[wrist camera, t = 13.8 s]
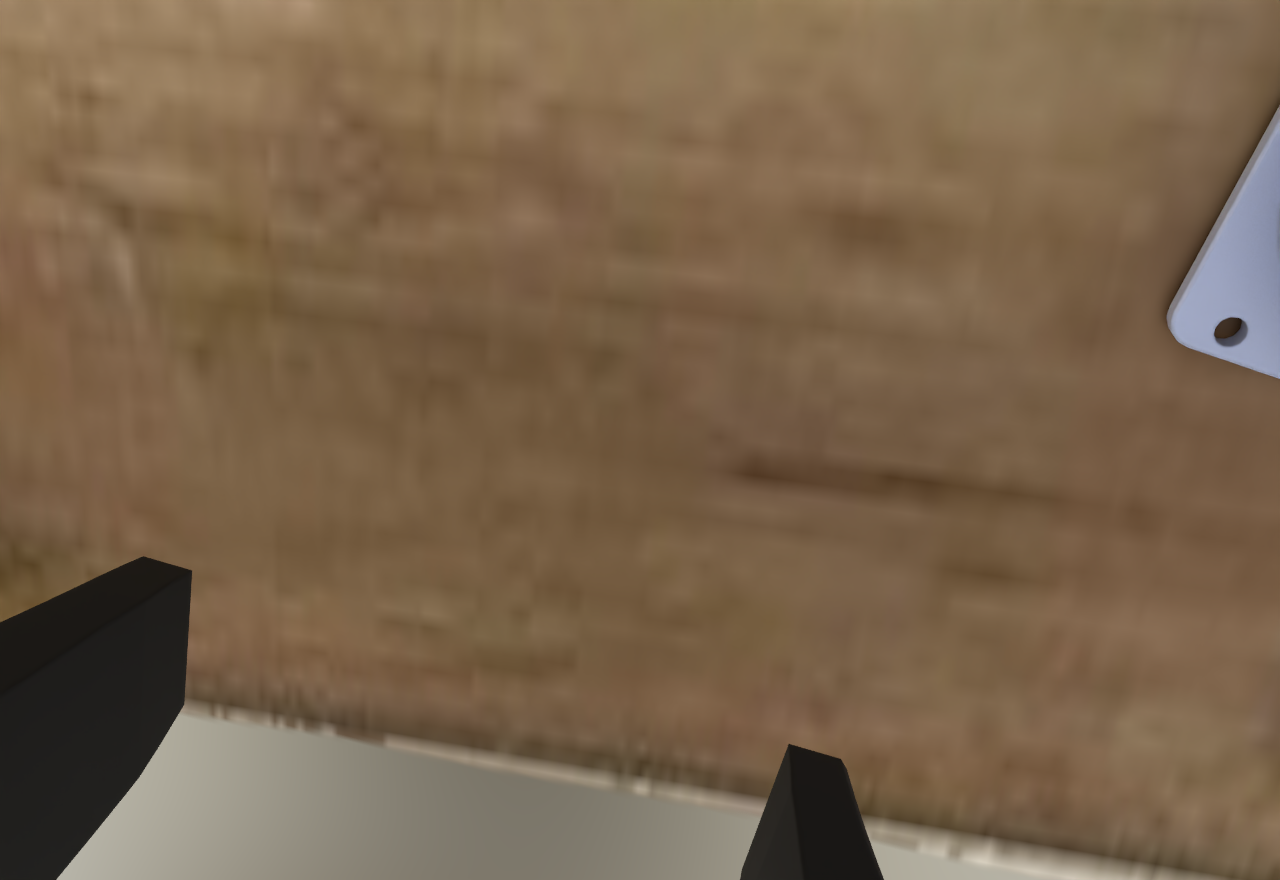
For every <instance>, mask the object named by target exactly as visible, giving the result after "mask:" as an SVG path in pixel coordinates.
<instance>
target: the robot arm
mask: <svg viewBox="0 0 1280 880" xmlns="http://www.w3.org/2000/svg"><path fill="white" fill-rule="evenodd" d="M1230 317H1234V318H1240V319H1241V320H1242V323H1241V327H1240V330H1239V331H1238V332H1237V333H1236V334H1235V335H1234V336H1231V337H1228V338H1226V339H1225V338H1216V337H1215V336H1214V332H1215V328H1216V326H1217V325H1218V324H1219V323H1220V322H1221V321H1222V320H1225V319H1227V318H1230ZM1167 324H1168V328H1169V329H1170V331H1171V333H1172V334H1173V336H1174V337H1175V339H1176V340H1177V341H1178V342H1179V343H1181V344H1182V345H1184V346H1186V347H1188V348H1191V349H1194V350H1197V351H1199V352H1202V353H1205V354H1208V355H1211V356H1214V357H1217V358H1220V359H1223V360H1226V361H1229V362H1232V363H1235V364H1237V365H1240V366H1243V367H1246V368H1249V369H1252V370H1255V371H1258V372H1261V373H1264V374H1267V375H1270V376H1273V377H1275V378H1278V379H1280V105H1279V107H1278V109H1277V111H1276V113H1275V115H1274V116H1273V118H1272V120H1271V122H1270V124H1269V126H1268V127H1267V129H1266V131H1265V133H1264V135H1263V137H1262V138H1261V140H1260V142H1259V144H1258V146H1257V147H1256V149H1255V151H1254V153H1253V155H1252V157H1251V158H1250V160H1249V162H1248V164H1247V166H1246V168H1245V169H1244V171H1243V173H1242V175H1241V177H1240V179H1239V180H1238V182H1237V184H1236V186H1235V188H1234V190H1233V191H1232V193H1231V195H1230V197H1229V199H1228V200H1227V202H1226V204H1225V206H1224V208H1223V210H1222V211H1221V213H1220V215H1219V217H1218V219H1217V221H1216V222H1215V224H1214V226H1213V228H1212V230H1211V232H1210V233H1209V235H1208V237H1207V239H1206V241H1205V243H1204V244H1203V246H1202V248H1201V250H1200V252H1199V253H1198V255H1197V257H1196V259H1195V261H1194V263H1193V264H1192V266H1191V268H1190V270H1189V272H1188V274H1187V275H1186V277H1185V279H1184V281H1183V283H1182V285H1181V286H1180V288H1179V290H1178V292H1177V294H1176V296H1175V297H1174V299H1173V301H1172V303H1171V305H1170V307H1169V310H1168V313H1167ZM191 580H192V570H188V569H185V568H181V567H178V566H175V565H171V564H168V563H164V562H161V561H157V560H154V559H151V558H147V557H144V556H143V557H141V558H138V559H136V560H134V561H131V562H129V563H127V564H124V565H122V566H120V567H118V568H116V569H113V570H111V571H109V572H107V573H105V574H103V575H101V576H99V577H96V578H94V579H92V580H90V581H88V582H86V583H84V584H82V585H80V586H78V587H75V588H73V589H71V590H69V591H67V592H65V593H63V594H61V595H59V596H57V597H54V598H52V599H50V600H48V601H46V602H44V603H42V604H40V605H37V606H35V607H33V608H31V609H29V610H26V611H24V612H22V613H20V614H18V615H16V616H13V617H11V618H9V619H7V620H5V621H2V622H0V880H56V879H57V878H58V877H59V876H60V874H61V873H62V872H63V871H64V869H65V868H66V867H67V866H68V865H69V863H70V862H71V861H72V860H73V858H74V857H75V856H76V855H77V854H78V852H79V851H80V850H81V849H82V847H83V846H84V845H85V844H86V843H87V841H88V840H89V839H90V838H91V837H92V835H93V834H94V833H95V832H96V830H97V829H98V828H99V827H100V825H101V824H102V823H103V822H104V821H105V819H106V818H107V817H108V816H109V814H110V813H111V812H112V811H113V809H114V808H115V807H116V806H117V804H118V803H119V802H120V801H121V799H122V798H123V797H124V796H125V795H126V793H127V792H128V791H129V789H130V788H131V787H132V786H133V784H134V783H135V782H136V781H137V779H138V778H139V777H140V775H141V774H142V772H143V770H144V769H145V767H146V766H147V764H148V762H149V761H150V759H151V758H152V756H153V755H154V753H155V752H156V750H157V749H158V747H159V745H160V744H161V742H162V740H163V739H164V737H165V735H166V734H167V732H168V730H169V729H170V727H171V726H172V724H173V722H174V721H175V719H176V717H177V716H178V714H179V712H180V711H181V709H182V707H183V706H184V698H185V681H186V665H187V648H188V631H189V614H190V597H191ZM740 880H884V879H883V876H882V873H881V871H880V868H879V865H878V863H877V860H876V857H875V855H874V852H873V849H872V846H871V843H870V841H869V838H868V835H867V832H866V829H865V826H864V823H863V820H862V817H861V814H860V811H859V808H858V805H857V802H856V799H855V796H854V792H853V789H852V786H851V782H850V779H849V775H848V772H847V769H846V767H845V765H844V764H843V762H842V760H841V759H839V758H835V757H832V756H829V755H825V754H822V753H818V752H815V751H811V750H808V749H805V748H801V747H798V746H794V745H791V744H789V745H788V748H787V750H786V753H785V756H784V758H783V761H782V764H781V766H780V769H779V772H778V774H777V777H776V780H775V783H774V785H773V788H772V791H771V793H770V796H769V799H768V801H767V804H766V807H765V809H764V812H763V815H762V817H761V820H760V823H759V825H758V828H757V831H756V833H755V836H754V839H753V841H752V844H751V847H750V850H749V852H748V855H747V857H746V860H745V863H744V866H743V868H742V873H741V879H740Z"/></svg>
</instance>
